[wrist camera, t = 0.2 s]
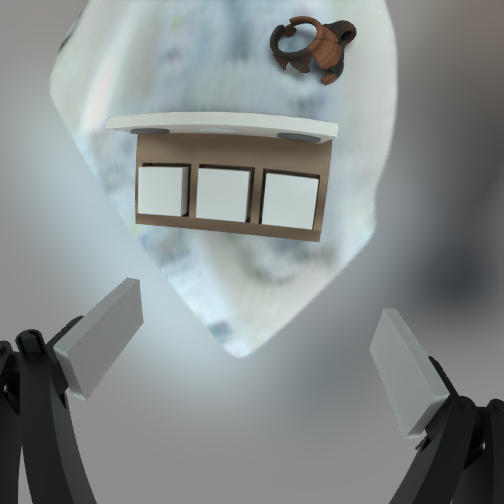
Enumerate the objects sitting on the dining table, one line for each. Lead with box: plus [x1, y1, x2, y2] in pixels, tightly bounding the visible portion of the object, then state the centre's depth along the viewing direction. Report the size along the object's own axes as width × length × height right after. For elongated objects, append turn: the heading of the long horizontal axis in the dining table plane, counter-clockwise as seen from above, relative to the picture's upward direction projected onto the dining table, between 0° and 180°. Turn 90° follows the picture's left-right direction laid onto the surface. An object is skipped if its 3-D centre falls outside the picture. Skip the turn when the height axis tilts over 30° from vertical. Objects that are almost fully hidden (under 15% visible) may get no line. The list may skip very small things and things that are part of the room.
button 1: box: [138, 166, 189, 216], centre depth 34 cm, size 6×6×3 cm
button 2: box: [262, 172, 318, 230], centre depth 33 cm, size 6×6×3 cm
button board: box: [135, 133, 332, 242], centre depth 35 cm, size 15×25×4 cm, turn 85°
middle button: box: [196, 168, 251, 222], centre depth 33 cm, size 6×6×3 cm
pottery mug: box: [270, 16, 356, 85], centre depth 28 cm, size 12×10×8 cm
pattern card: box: [106, 112, 339, 143], centre depth 26 cm, size 2×22×10 cm, turn 85°
